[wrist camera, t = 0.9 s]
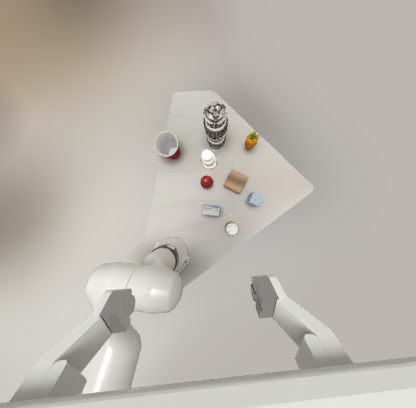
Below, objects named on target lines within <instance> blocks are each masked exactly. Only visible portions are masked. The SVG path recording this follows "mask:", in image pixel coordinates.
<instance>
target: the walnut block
mask: <svg viewBox="0 0 416 408" xmlns="http://www.w3.org/2000/svg"><path fill="white" fill-rule="evenodd" d="M247 178H248V177H247V176H245V175H243V174H241V173H239V172H237V171H235V170H233V169H232V171H231V173H230V174H229V176H228V178H227V180H226V182H225V184H224V187H225V188H227V189H229V190H231V191H233V192H235V193H237V194H239V193H240V192H241V190H242V188H243V186H244V184H245V182H246V180H247Z"/></svg>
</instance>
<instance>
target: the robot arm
mask: <svg viewBox="0 0 416 408" xmlns="http://www.w3.org/2000/svg"><path fill="white" fill-rule="evenodd" d="M185 261H186V262H185ZM189 261H190V258H189V256H188V254H187V248H186V245H185V244H184V242H183V241H182V240H180V239H178V238H175V237H170V238H167V239H165V240H163V241H158V242H156V244H155V247H154V250H153V251H152V252H151V253H150V254H148V255H147V256H146V257H145V258H144V259H143V261H142V263H141V265H137V264H130V263H122V262H118V263H105V264H102V265H100V266H99V267H98V268H96V269H95V270H94V271H93V272H92V274H91V275H90V277H89V278H88V281H87V283H86V289H85V290H86V291H85V292H86V297H87V298H88V300H89V302H90V304H91V307H92V314H91V315H90V317H89V318H86V319H85V320H84V321H83V322H82V323H81V324H80V325H78V326H77V327H76V328H75V329H74V330H73V331H72V332H70V333H69V334H68V335H67V336H66V337H65V338H64V339H62V340H61V341H60V342H59V343H58V344H57V345H56V346H54V347H53V348H52V349H51V350H50V351H49V352H48V353H46V354H45V355H44V356H43V357H42V358H41V359H40V360H38V361H37V363H36V364H35V366H34V367H33V368H32V370H31V371H30V373H29V374H28V375H27V377H26V379H25V380H24V381H23V383H22V384H21V386H20V387H19V389H18V390H17V391H16V393H15V394H14V396H13V397H12V399H11V400H10V401H9V402H6V403H0V408H416V356H415V357H407V358H399V359H390V360H381V361H372V362H363V363H354V364H353V362H352V361H351V359H350V358H349V356H348V355H347V353H346V352H345V350H344V349H343V347H342V346H341V344H340V343H339V341H338V340H337V339H336V337H335V335H334V334H333V332H332V331H331V330H330V329H328V328H327V327H326V326H324V325H323V324H322V323H321V322H320V321H318V320H317V319H316V318H315V317H313V316H312V315H311V314H310V313H308V312H307V311H306V310H304V309H303V308H302V307H301V306H299V305H298V304H297V303H295V302H294V301H293V300H292V299H290V298H289V299H288V298H287V296H286V294H285V292H284V290H283V288H282V286H281V285H280V283H279V281H278V279H277V277H276V276H275V275H264V276H255V277H252V284H251V293H252V297H253V300H254V301H255V302H256V309H257V312H258V315H259V318H268V317H273V319H274V320H275V321H276V322H277V323H278V324H279V325H280V326H281V328H282V329H283V330H284V331H285V332H286V333H287V334H288V335H289V336H290V338H291V339H292V340H293V341H294V342H295V343H296V344H297V345H298V346H299V350H298V352H297V354H296V357H295V360H296V362H297V364H298V367H299V369H300V370H291V371H282V372H273V373H265V374H255V375H247V376H238V377H229V378H220V379H211V380H202V381H193V382H184V383H175V384H166V385H157V386H149V387H140V388H131V385H132V381H133V377H134V373H135V369H136V365H137V362H138V358H139V353H140V350H141V339H140V336H139V334H138V332H137V331H136V330H135V329H134V328H133V327H132V325H131V323H130V315H131V313H132V312H133V311H139V312H145V313H151V314H152V313H165V312H170V311H172V310H173V309H174V308H175V307H176V305H177V304H178V302H179V301H180V298H181V295H182V290H183V285H182V280H181V277H180V275H179V274H180V273H181V271H182V270H183V269H184V267H185V266H186V265H187V264H188V262H189Z"/></svg>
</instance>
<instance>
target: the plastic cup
mask: <svg viewBox="0 0 416 408" xmlns="http://www.w3.org/2000/svg"><path fill="white" fill-rule="evenodd" d="M154 147H155V150H156V152H157V153H158V154H159V155H161V156H165V157H170V158H173V159H175V158H177V157H178V156H179V154H180V151H179V147H178V140H177V137H176V136H175V135H174V134H173V133H171V132H169V131H164V132H161V133H160V134H158V136H157V137H156V139H155V141H154Z"/></svg>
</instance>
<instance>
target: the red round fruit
mask: <svg viewBox="0 0 416 408" xmlns="http://www.w3.org/2000/svg"><path fill="white" fill-rule="evenodd" d="M212 184H213V180H212V178H211V177H210V176H204V177H202V179H201V185H202V186H203V187H204V188H210V187H211V186H212Z"/></svg>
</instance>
